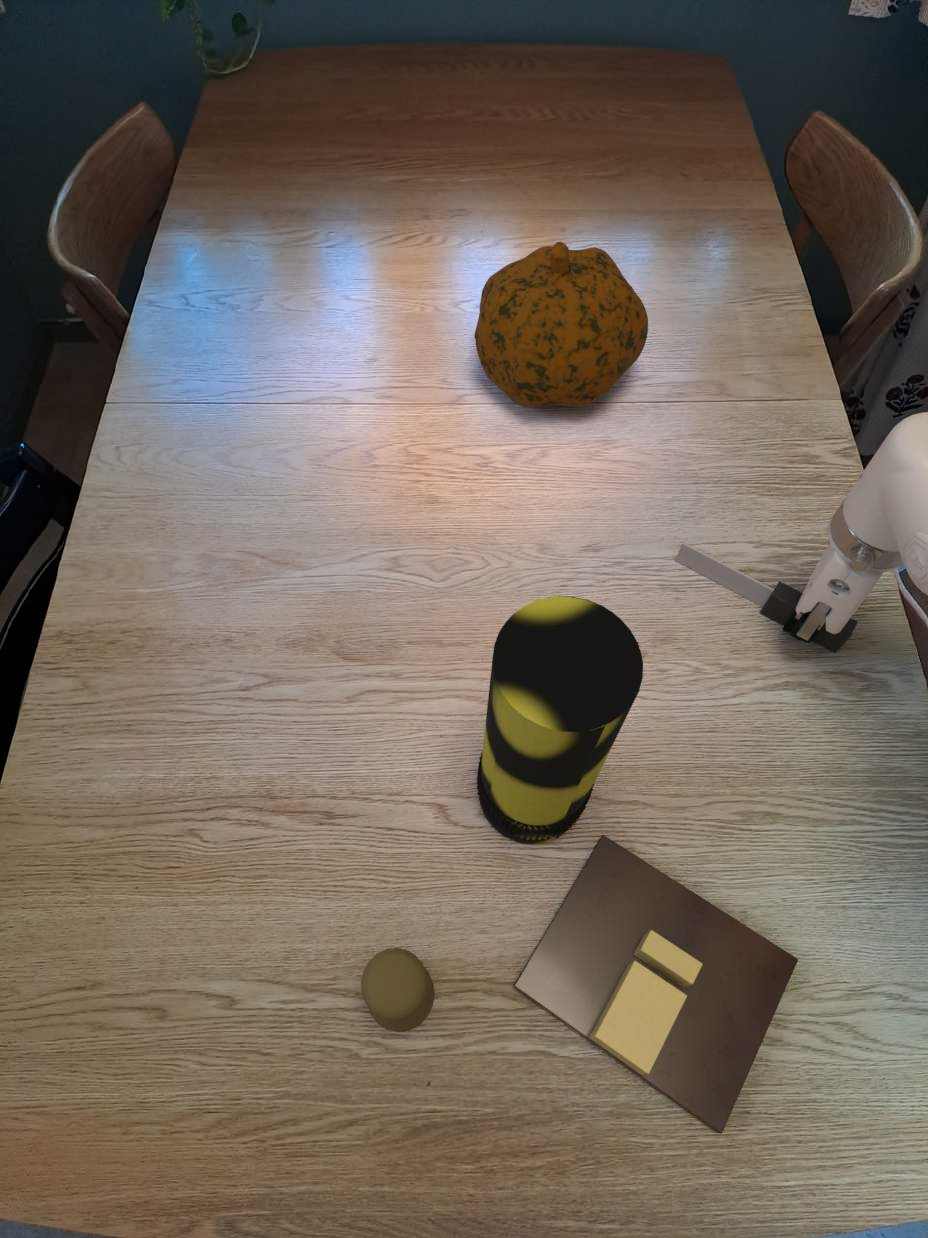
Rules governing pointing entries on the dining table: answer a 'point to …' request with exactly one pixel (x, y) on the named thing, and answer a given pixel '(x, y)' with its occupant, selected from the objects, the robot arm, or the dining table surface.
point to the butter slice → (668, 959)
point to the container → (553, 713)
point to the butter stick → (638, 1017)
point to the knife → (760, 593)
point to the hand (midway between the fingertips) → (802, 624)
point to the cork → (397, 990)
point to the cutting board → (662, 976)
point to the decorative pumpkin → (559, 327)
